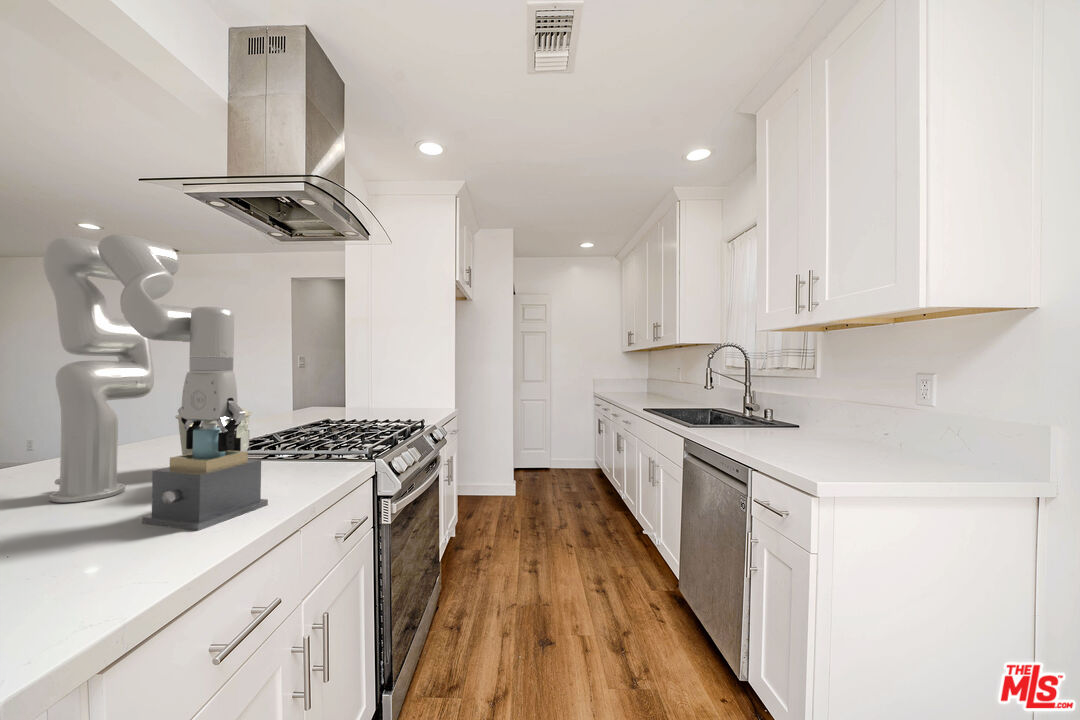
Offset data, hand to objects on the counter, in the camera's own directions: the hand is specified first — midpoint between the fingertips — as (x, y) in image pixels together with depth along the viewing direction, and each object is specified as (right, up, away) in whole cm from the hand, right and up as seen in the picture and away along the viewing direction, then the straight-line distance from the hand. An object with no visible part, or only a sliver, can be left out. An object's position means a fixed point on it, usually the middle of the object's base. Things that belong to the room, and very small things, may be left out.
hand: (210, 448), depth 95 cm
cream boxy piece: (-11, -14, +21) cm, 28 cm away
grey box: (0, -14, 0) cm, 14 cm away
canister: (-25, -14, +36) cm, 46 cm away
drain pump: (0, -3, 0) cm, 3 cm away
